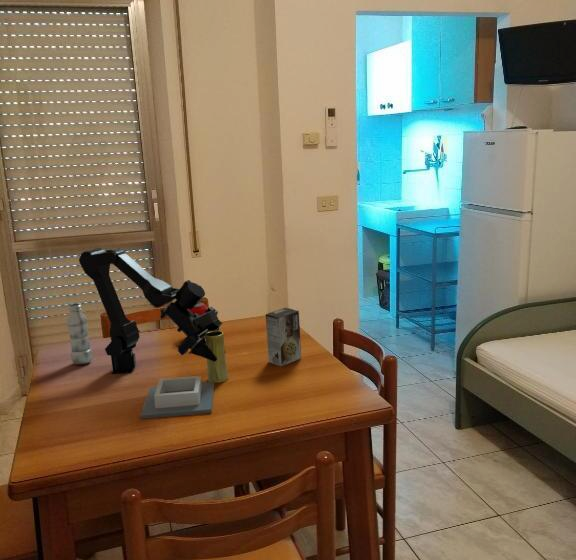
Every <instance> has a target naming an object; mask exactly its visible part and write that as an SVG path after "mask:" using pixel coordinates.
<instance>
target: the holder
mask: <svg viewBox="0 0 576 560" xmlns="http://www.w3.org/2000/svg"><path fill="white" fill-rule="evenodd" d="M214 391H215V383H214V382H209V381H207V382H206V381H205V382H202V377H201V375H195V376H194V375H193V376H182V377H181V376H179V377H169V378H168V377H167V378H166V377H165V378H159V380H158V383H157V386H156V385H155V386H150V388H149V390H148V394H147V396H146V399H145V401H144V405H143V407H142V409H141V414H140V419H141V420H144V419H153V418H155V419H156V418H166V417H177V416H180V417H181V416H189V415H190V416H191V415H201V414H202V415H203V414H212V413H213V403H214Z"/></svg>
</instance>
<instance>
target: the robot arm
mask: <svg viewBox="0 0 576 560" xmlns="http://www.w3.org/2000/svg"><path fill="white" fill-rule="evenodd" d="M78 263H79V265H80V266H81V268H82V270H83V272H84V273H85V275H87V276H88V277H89V278H90V279H91V280H92V281H93V283H94V285H95V286H94V287H95V288H96V290H97V293H98V296H99V298H100V300H101V303H102V306H103V308H104V310H105V311H104V312H106V315H107V318H108V321H109V323H110V327H109V337H110V340H111V341H110V342H109V344H108V345H107V346H106V347H105V348H104V350H105V353H106V355H107V356H110V359H111V367H112V370H111V374H113V375H115V374H125V373H126V374H128V373H133V372H134V369H135V368H136V366H137V360H136V354H135V353H134V348H136V347H137V343H138V342H139V339H140V332H141V331H140V330H139V328H138V326H137V322H136V321H135V320H132V321H131V320H129V318H128V317H127V315H126V314H125V311H124V309H123V306H122V303H121V301H120V299H119V295H118V294H117V291H116V289H115V287H114V283H113V281H112V278H111V276H110V269H111V265H113V266H115V267H116V268H117V269H118V270H119V271H120V272H121V273H122V274H124V275H125V276H126V277H127V278H128V279H129V280H130V281H131V282H133V284H135V285H136V286H137V287H138V288H140V290H142V294H143V296H144V298H145V299H146V300H147V302H148V303H149V304H150V305H151V306H152V307H154V308H161V307H163V306H166V305H167V304H168V305H167V306H166V307H164V308H161V309H160V320H162V319H165V318H166V317H168V318H169V319H170V320H171V321H172V323H174V324H175V326H176V327H177V329H176V330H177V332H178V333H181V332H183V334H184V335H185V336H186V337H185V338H184V339H183V340H182V341H181V342H180V344H179V345H178V346H177V352H178V353H179V354H180V355H181V356H182V357H183V356H184V355H186V354H187V353H188V354H190V355H191V354H192V355H195V356H199V357H201V358H204V359H206V360H207V359H209V360H211V361H214V362H215V361H216V360H217V358H216V357H215V355H214V354H213V353H212V351H211V350H210V349H209V348H208V347H207V345H206V338H205V334H206V333H208V332H211V331H220V327H222V325H223V322H222V321H221V320H220V319H219V317H218V314H219V311H218V310H216V308H214V307H213V306H209V307H207V309H206V310H205V313H204V314H203V315H201V316H199V315H198V314H197V313H195V314H192V313H191V312H190V311H189V309H193V308H194V307H195V306H196V305H197V304H198V303H200V301H201V300H202V299H203V298H204V297H205V296H206V292H205V290H204V288H203V287H202V285H199V284H198V283H197V282H196V283H195V282H191V280H190V279H188V280H185V281H184V282H183V283H182V285H181V287H180V288H176V287H173V286H172V285H170V284H169V283H167V282H165V281H164V280H162V279H159V278H156V277H153V276H152V275H151V274H150V273H149V272H148V271H146V270H145V269H144V268H143V267H142V266H141V265H139V264H138V263H137V262H136V261H135V260H134V259H132V258H131V257H130V256H129V255H128V254H127V253H126V251H125V250H124V249H122V248H117V249H106V250H105V249H103V248H100V247H98V248H94V249H90V250H86V251H83V252H81V254H80V256H79V258H78ZM172 301H173V302H172ZM203 337H204V338H203ZM189 350H190V351H189ZM188 351H189V352H188ZM226 353H227V352H226V350H225V354H226Z"/></svg>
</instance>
